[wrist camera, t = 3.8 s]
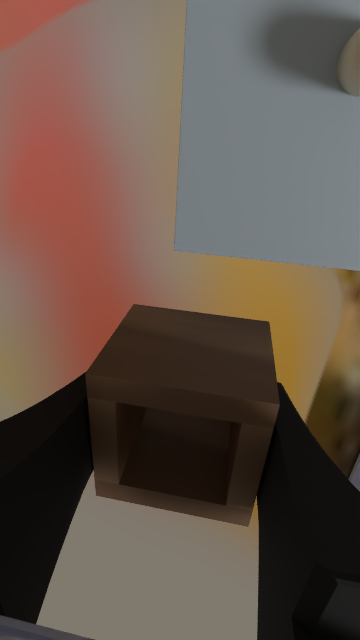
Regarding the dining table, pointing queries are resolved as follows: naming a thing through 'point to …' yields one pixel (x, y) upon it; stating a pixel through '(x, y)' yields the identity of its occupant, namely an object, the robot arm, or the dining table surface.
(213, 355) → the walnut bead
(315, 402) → the dining table surface
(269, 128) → the grey rectangular slab
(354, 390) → the dining table surface
